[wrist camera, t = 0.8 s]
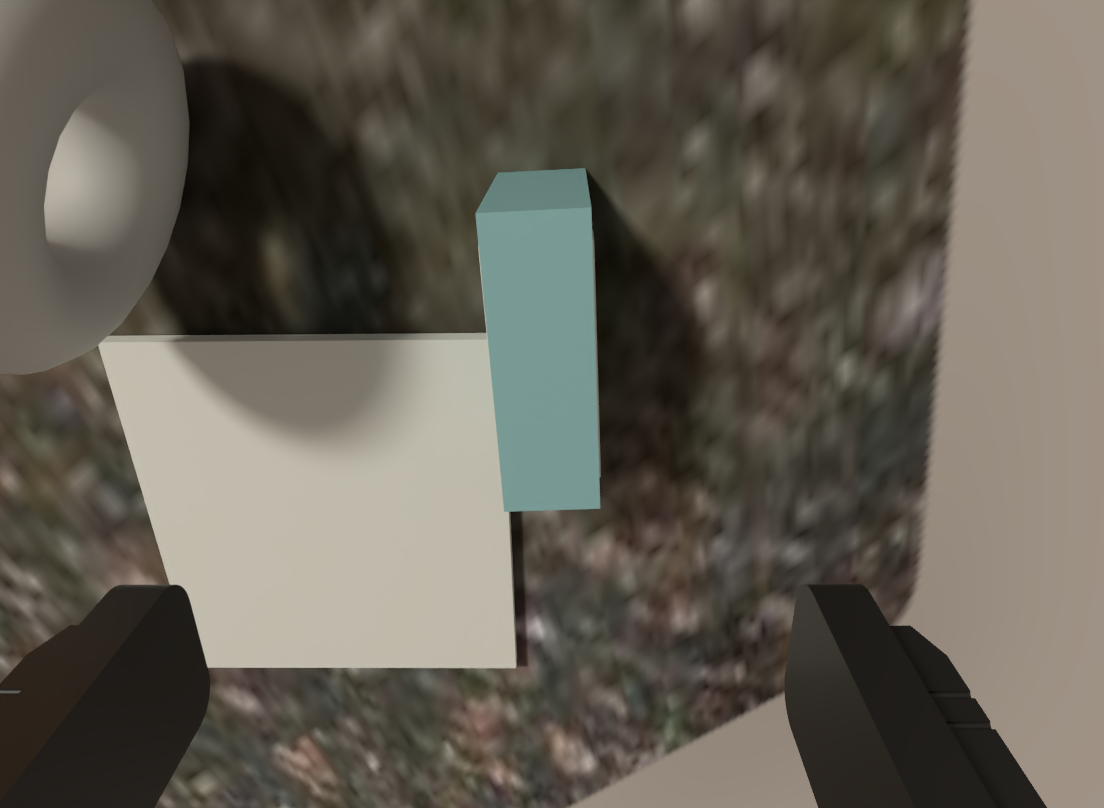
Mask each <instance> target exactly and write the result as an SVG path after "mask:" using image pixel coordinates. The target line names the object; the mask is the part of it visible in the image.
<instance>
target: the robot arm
mask: <svg viewBox="0 0 1104 808" xmlns="http://www.w3.org/2000/svg"><path fill="white" fill-rule="evenodd" d="M209 694H210V677H209V671H208V667H207V664H206V660H205V656H204V652H203V649H202V645H201V641H200V637H199V633H198V630H197V626H196V622H195V618H194V614H193V611H192V607H191V603H190V599H189V597H188V594H187V592H186V591H185V589H184V588H183V587H181V586H180V585H118V586H116V587H114V588H112V589H111V590H110V591H109V592H108V593H107V594H106V595H105V596H104V597H103V598H102V599H101V601H100V602H99V603H98V604H97V605H96V606H95V607H94V609H93V610H92V611H91V612H90V613H89V614H88V615H87V616H86V618H85V619H84V620H83V621H82V622H81V623H80V624H79V625H70V626H69V627H67V628H66V629H64V630H63V631H61V632H60V633H58V634H57V635H55V636H54V637H52V638H51V639H49V640H48V641H46V642H45V643H43V644H42V645H40V646H39V647H38V648H36V649H35V650H33V651H32V652H30V653H29V654H27V655H26V656H25V657H24V659H23V660H22V661H21V662H20V663H19V664H18V665H17V666H16V667H15V668H14V669H13V670H12V672H11V673H10V674H9V675H8V676H7V677H6V678H5V679H4V680H3V681H2V682H1V683H0V808H154V807H155V806H156V804H157V802H158V800H159V798H160V797H161V795H162V793H163V791H164V789H165V788H166V786H167V784H168V782H169V781H170V779H171V777H172V775H173V773H174V772H175V770H176V768H177V766H178V764H179V763H180V761H181V759H182V757H183V756H184V754H185V752H186V750H187V748H188V747H189V745H190V743H191V741H192V739H193V738H194V736H195V734H196V732H197V731H198V729H199V727H200V725H201V723H202V721H203V718H204V716H205V713H206V709H207V705H208V701H209ZM785 701H786V709H787V714H788V719H789V723H790V727H791V730H792V733H793V736H794V738H795V741H796V744H797V747H798V750H799V753H800V756H801V759H802V761H803V764H804V767H805V770H806V773H807V776H808V779H809V782H810V785H811V788H812V790H813V793H814V796H815V799H816V802H817V805H818V808H1047V807H1046V805H1045V804H1044V802H1043V801H1042V799H1041V798H1040V796H1039V795H1038V793H1037V792H1036V790H1035V789H1034V787H1033V786H1032V784H1031V783H1030V781H1029V780H1028V778H1027V777H1026V775H1025V774H1024V772H1023V771H1022V769H1021V768H1020V766H1019V764H1018V763H1017V761H1016V760H1015V758H1014V757H1013V755H1012V754H1011V752H1010V751H1009V749H1008V748H1007V746H1006V745H1005V743H1004V742H1003V740H1002V739H1001V737H1000V736H999V734H998V733H997V731H996V730H995V729H991V726H990V720H989V719H988V718H987V716H986V714H985V713H984V711H983V710H982V708H981V707H980V705H979V704H978V702H977V701H976V699H974V698H971V696H970V690H969V688H968V687H967V685H966V684H965V683H964V681H963V679H962V678H961V676H960V675H959V673H958V672H957V670H956V669H955V667H954V666H953V664H952V663H951V661H950V660H949V658H948V656H947V655H946V654H944V653H943V652H942V651H941V650H939V649H938V648H937V647H936V646H934V645H933V644H932V643H931V642H930V641H928V640H927V639H926V638H925V637H924V636H922V635H921V634H920V633H919V632H917V631H916V630H915V629H914V628H913V627H911V626H889V624H888V623H887V621H886V619H885V617H884V616H883V614H882V612H881V611H880V609H879V607H878V606H877V604H876V602H875V600H874V599H873V597H872V595H871V594H870V592H869V591H868V589H867V588H866V587H865V586H863V585H859V584H850V585H802V586H801V587H800V588H799V590H798V593H797V597H796V603H795V609H794V616H793V623H792V630H791V637H790V644H789V651H788V658H787V664H786V671H785Z"/></svg>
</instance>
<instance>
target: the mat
mask: <svg viewBox="0 0 1104 808" xmlns="http://www.w3.org/2000/svg"><path fill="white" fill-rule="evenodd" d="M98 346H99V349H100V353H101V356H102V359H103V363H104V366H105V369H106V373H107V376H108V379H109V383H110V386H111V390H112V393H113V396H114V400H115V403H116V406H117V410H118V413H119V416H120V420H121V423H122V426H123V430H124V433H125V436H126V440H127V443H128V446H129V450H130V453H131V456H132V460H133V463H134V466H135V470H136V473H137V477H138V480H139V483H140V487H141V490H142V493H143V497H144V500H145V503H146V507H147V510H148V513H149V517H150V520H151V523H152V527H153V530H154V533H155V537H156V540H157V543H158V547H159V550H160V553H161V557H162V560H163V564H164V567H165V570H166V574H167V577H168V580H169V584H170V585H180V586H181V587H183V588H184V589H185V591H186V592H187V594H188V597H189V599H190V603H191V607H192V611H193V614H194V618H195V622H196V626H197V630H198V633H199V637H200V641H201V645H202V649H203V652H204V656H205V660H206V664H207V667H230V668H516V665H517V643H516V622H515V600H514V579H513V557H512V535H511V514H510V512H504V505H503V494H502V484H501V478H500V467H499V457H498V447H497V436H496V426H495V415H494V405H493V395H492V384H491V374H490V363H489V353H488V343H487V333H416V334H286V335H156V336H107V337H106V338H105V339H104V340H103V341H102V342H101V343H100V344H98Z"/></svg>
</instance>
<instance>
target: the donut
mask: <svg viewBox="0 0 1104 808" xmlns="http://www.w3.org/2000/svg"><path fill="white" fill-rule="evenodd" d="M189 125H190V123H189V114H188V105H187V96H186V88H185V79H184V70H183V67H182V64H181V61H180V58H179V55H178V52H177V49H176V46H175V43H174V40H173V37H172V34H171V31H170V29H169V27H168V25H167V23H166V22H165V20H164V18H163V16H162V14H161V12H160V11H159V10H158V8H157V7H156V6H155V4H154V3H153V1H152V0H0V373H4V374H21V375H24V374H30V373H36V372H42V371H46V370H49V369H51V368H53V367H56V366H58V365H60V364H63V363H65V362H67V361H70V360H72V359H74V358H77V357H79V356H81V355H83V354H84V353H86V352H88V351H90V350H92V349H94V348H95V347H96V346H97V345H98V344H100V343H101V342H102V341H103V340H104V339H105V338H106V337H107V336H108V335H109V334H111V333H112V332H113V331H114V330H115V329H116V328H117V327H118V326H119V325H120V324H122V322H123V321H124V320H125V318H126V317H127V315H128V314H129V313H130V311H131V310H132V308H133V307H134V306H135V304H136V303H137V301H138V300H139V298H140V297H141V296H142V294H143V293H144V291H145V290H146V288H147V287H148V286H149V284H150V283H151V281H152V278H153V276H154V274H155V272H156V270H157V268H158V266H159V264H160V262H161V260H162V257H163V255H164V253H165V251H166V249H167V247H168V244H169V241H170V237H171V234H172V231H173V228H174V225H175V222H176V219H177V215H178V212H179V209H180V205H181V200H182V194H183V188H184V183H185V177H186V172H187V166H188V147H189Z"/></svg>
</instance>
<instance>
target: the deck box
mask: <svg viewBox="0 0 1104 808" xmlns="http://www.w3.org/2000/svg"><path fill="white" fill-rule="evenodd" d="M476 223H477V234H478V244H479V245H478V249H479V259H480V270H481V280H482V291H483V301H484V311H485V322H486V332H487V343H488V353H489V363H490V374H491V384H492V395H493V405H494V415H495V426H496V436H497V447H498V457H499V467H500V478H501V484H502V494H503V505H504V512H513V511H542V510H572V509H600V485H599V477H601V464H600V428H599V393H598V357H597V322H596V286H595V250H594V235H593V230H592V211H591V202H590V195H589V188H588V182H587V175H586V169H585V168H582V169H563V170H543V171H524V172H505V173H497V175H496V177H495V179H494V181H493V182H492V184H491V186H490V188H489V190H488V192H487V193H486V195H485V197H484V199H483V201H482V202H481V204H480V206H479V208H478V210H477V211H476Z"/></svg>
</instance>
